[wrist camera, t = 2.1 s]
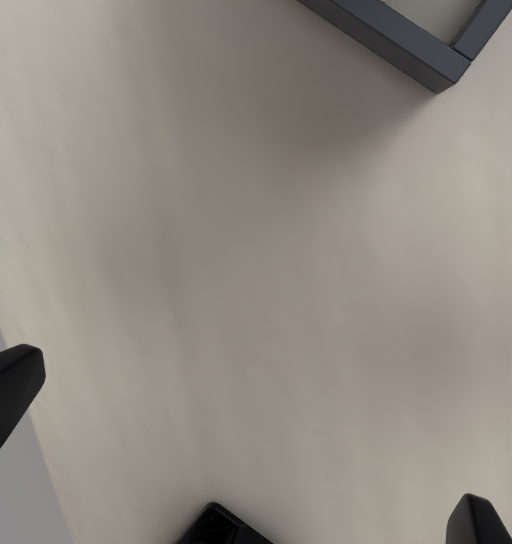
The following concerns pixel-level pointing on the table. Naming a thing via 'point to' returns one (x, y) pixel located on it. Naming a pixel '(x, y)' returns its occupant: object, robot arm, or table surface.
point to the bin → (414, 37)
